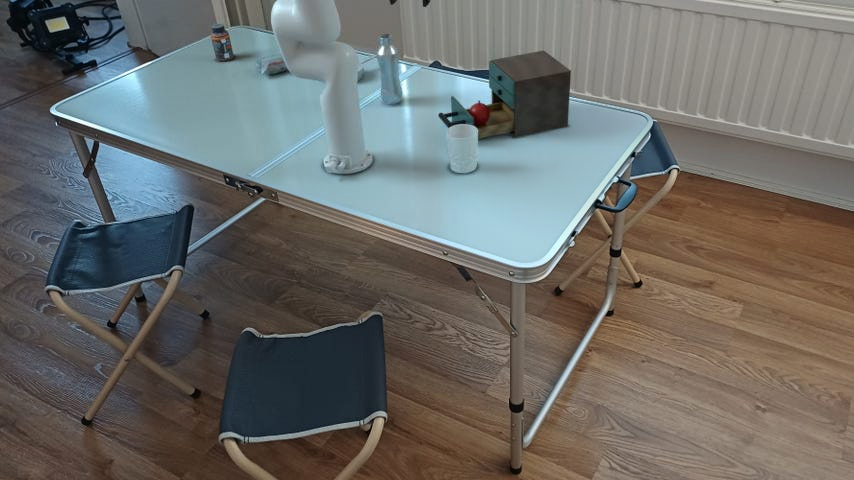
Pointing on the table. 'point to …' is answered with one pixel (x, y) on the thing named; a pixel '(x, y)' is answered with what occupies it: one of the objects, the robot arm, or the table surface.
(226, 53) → the supplement bottle
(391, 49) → the silver water bottle
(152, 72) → the table surface
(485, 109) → the apple
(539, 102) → the cabinet
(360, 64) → the small pan
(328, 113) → the robot arm
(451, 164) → the white cup
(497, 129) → the drawer
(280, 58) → the packaged food
